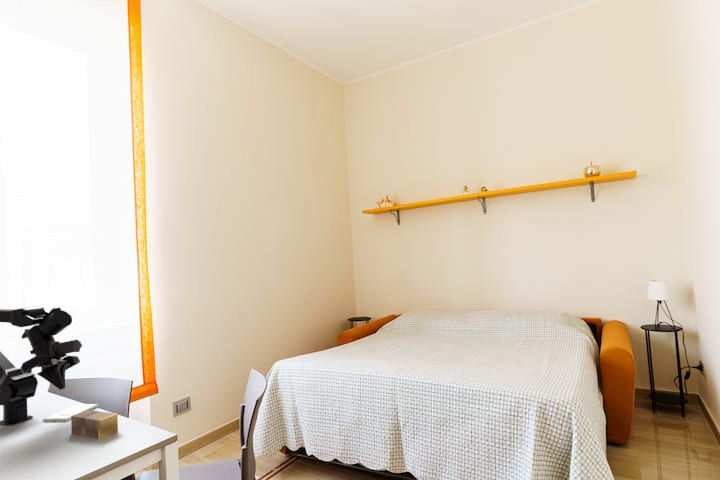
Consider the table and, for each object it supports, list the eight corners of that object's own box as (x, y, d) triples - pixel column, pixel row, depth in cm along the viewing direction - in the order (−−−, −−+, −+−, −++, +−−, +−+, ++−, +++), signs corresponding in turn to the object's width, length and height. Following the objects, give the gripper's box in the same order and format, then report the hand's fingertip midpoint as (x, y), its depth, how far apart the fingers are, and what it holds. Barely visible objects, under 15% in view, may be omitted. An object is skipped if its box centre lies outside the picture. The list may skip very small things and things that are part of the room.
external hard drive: (98, 408, 138) (66, 423, 126) (76, 408, 139) (42, 423, 127) (98, 403, 138) (66, 418, 126) (76, 404, 139) (42, 418, 127)
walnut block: (71, 416, 116) (100, 420, 111) (89, 409, 121) (117, 413, 116) (71, 434, 116) (100, 439, 111) (89, 427, 120) (117, 432, 116)
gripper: (50, 326, 120) (71, 374, 117) (86, 331, 138) (104, 373, 135) (11, 347, 118) (31, 397, 115) (52, 349, 136) (71, 392, 133)
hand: (62, 388), depth 124 cm, fingers closed
